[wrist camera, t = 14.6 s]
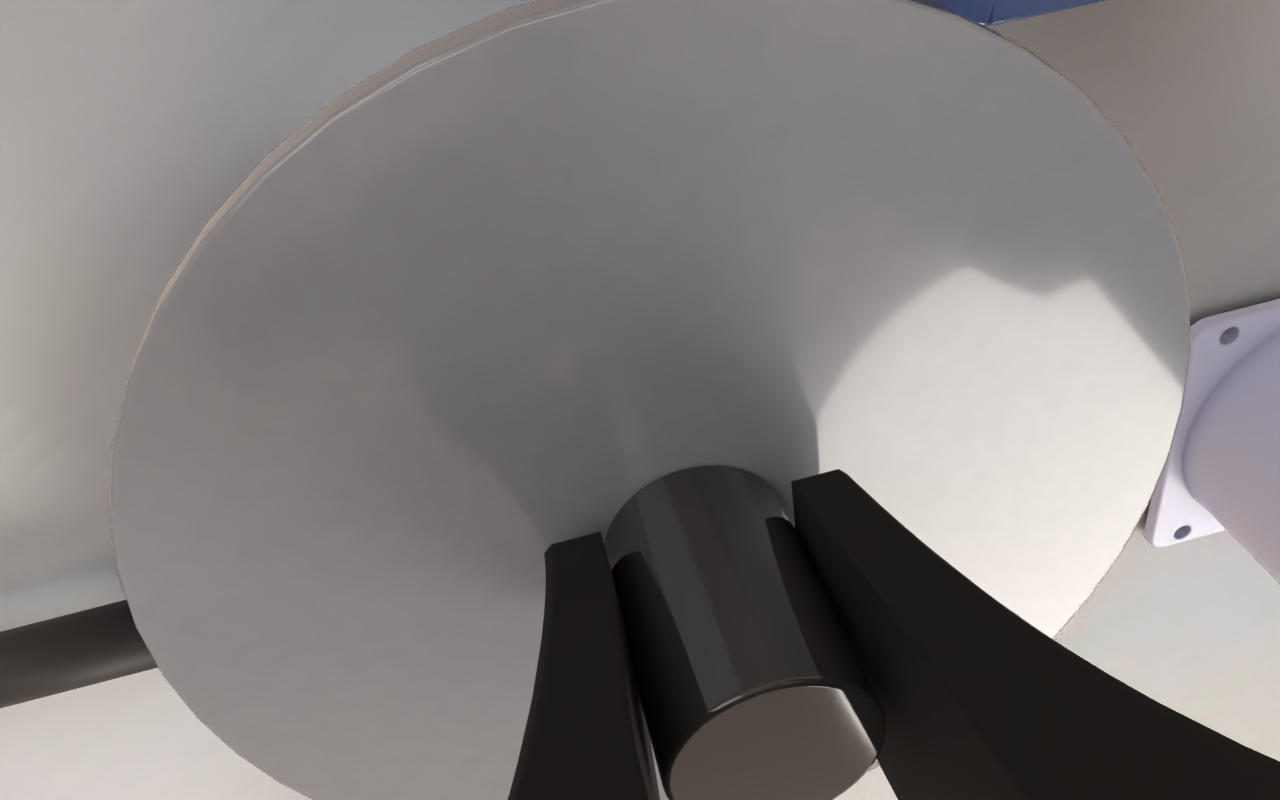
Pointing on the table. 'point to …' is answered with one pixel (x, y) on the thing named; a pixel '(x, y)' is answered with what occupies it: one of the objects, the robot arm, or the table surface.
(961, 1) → the pot
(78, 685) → the pan handle
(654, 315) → the lid
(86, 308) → the table surface
